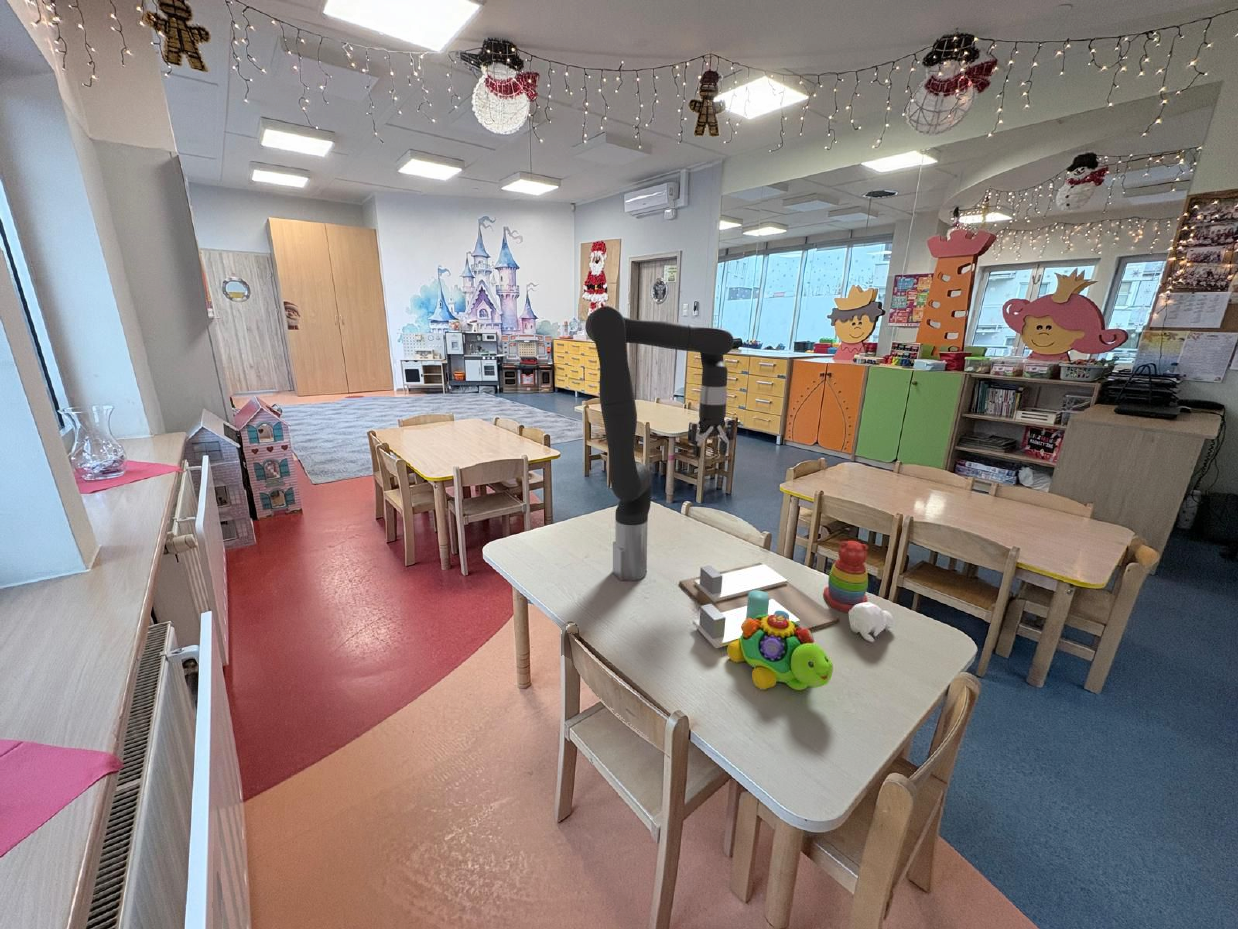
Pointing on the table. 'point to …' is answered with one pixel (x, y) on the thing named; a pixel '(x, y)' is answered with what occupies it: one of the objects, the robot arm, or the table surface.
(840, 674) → the table surface
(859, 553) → the stacking bear
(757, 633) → the turtle toy
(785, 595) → the lane board
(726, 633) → the strip
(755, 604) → the teal cylinder
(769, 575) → the empty strip
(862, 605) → the white toy rabbit
